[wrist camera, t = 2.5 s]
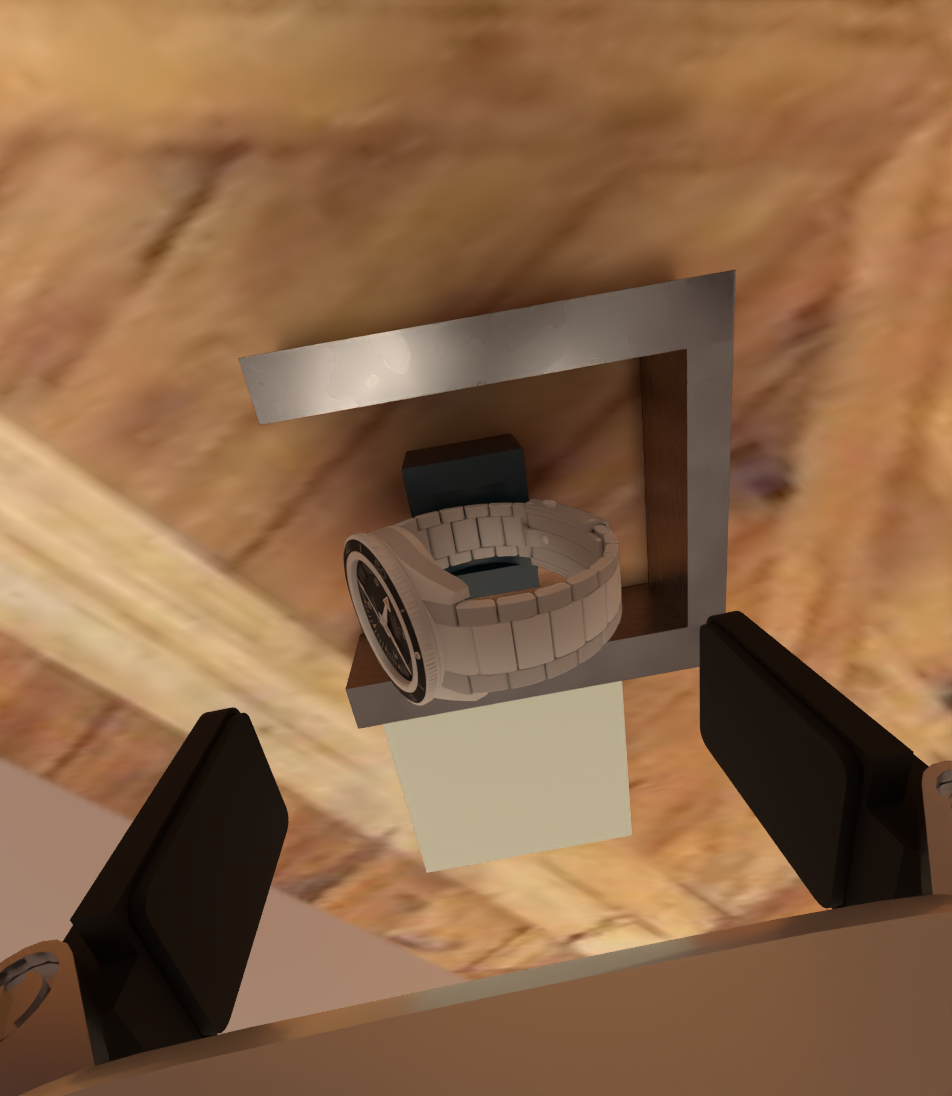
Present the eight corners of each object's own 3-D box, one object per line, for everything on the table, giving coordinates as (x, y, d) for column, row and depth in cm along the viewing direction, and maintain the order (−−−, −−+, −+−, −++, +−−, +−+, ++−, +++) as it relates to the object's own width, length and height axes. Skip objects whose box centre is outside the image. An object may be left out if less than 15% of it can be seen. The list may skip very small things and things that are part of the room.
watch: (359, 460, 21) (282, 573, 10) (553, 426, 21) (665, 506, 10) (389, 581, 23) (350, 773, 13) (565, 550, 23) (668, 718, 13)
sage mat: (379, 699, 25) (377, 708, 25) (616, 656, 25) (620, 663, 25) (427, 862, 30) (427, 872, 29) (628, 825, 30) (631, 835, 29)
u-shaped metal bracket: (277, 355, 19) (238, 358, 15) (677, 284, 19) (735, 269, 15) (370, 670, 24) (358, 728, 21) (680, 614, 24) (723, 662, 21)
